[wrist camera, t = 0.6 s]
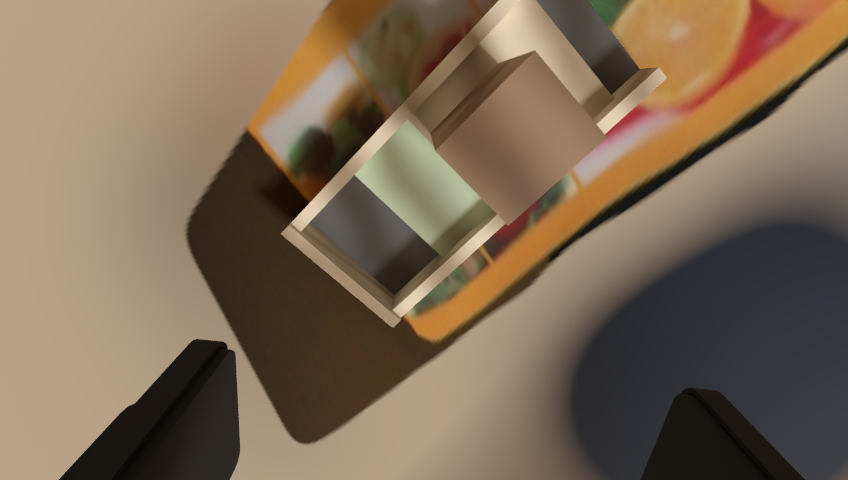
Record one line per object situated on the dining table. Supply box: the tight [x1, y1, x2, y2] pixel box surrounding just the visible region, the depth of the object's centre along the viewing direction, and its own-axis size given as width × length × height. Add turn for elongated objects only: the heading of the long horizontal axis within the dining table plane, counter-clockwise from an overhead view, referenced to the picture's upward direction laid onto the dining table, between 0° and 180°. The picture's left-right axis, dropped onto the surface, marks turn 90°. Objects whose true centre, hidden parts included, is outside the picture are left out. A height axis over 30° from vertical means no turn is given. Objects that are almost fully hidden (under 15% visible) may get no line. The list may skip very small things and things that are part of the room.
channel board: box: [281, 0, 667, 328], centre depth 32 cm, size 28×12×4 cm, turn 135°
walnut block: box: [430, 50, 607, 225], centre depth 27 cm, size 7×6×10 cm
